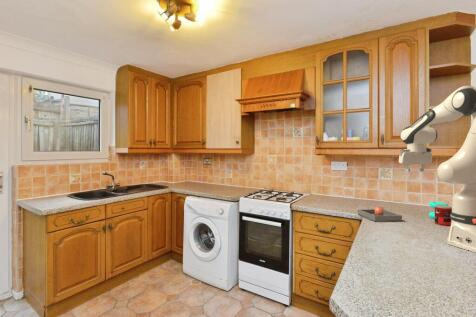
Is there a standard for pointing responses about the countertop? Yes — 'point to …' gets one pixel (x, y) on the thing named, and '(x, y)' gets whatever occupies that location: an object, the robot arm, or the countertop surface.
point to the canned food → (443, 215)
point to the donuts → (434, 207)
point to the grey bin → (385, 218)
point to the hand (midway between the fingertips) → (414, 171)
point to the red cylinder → (378, 211)
